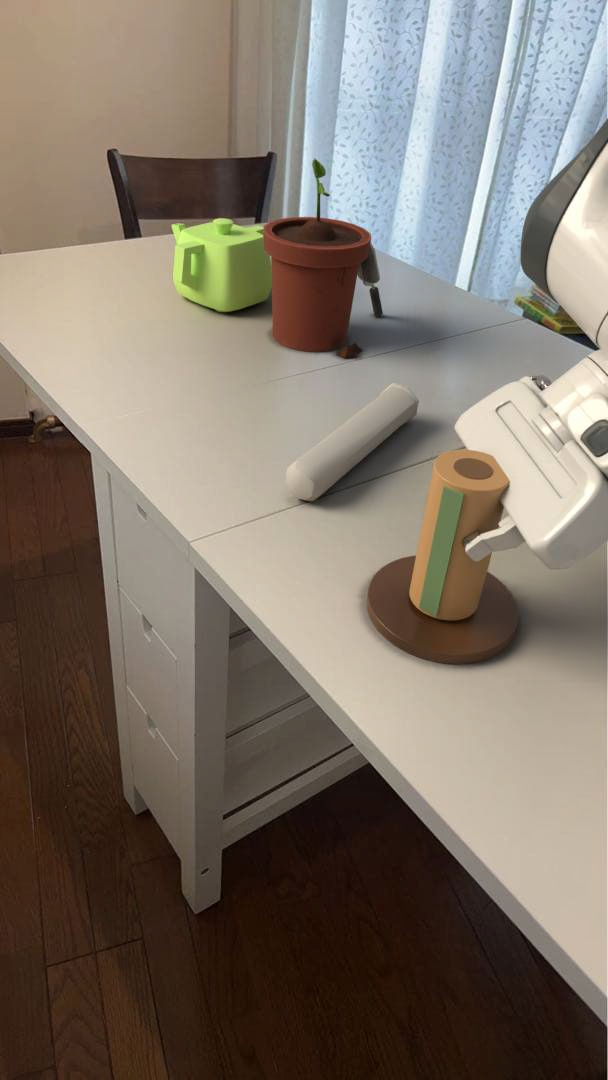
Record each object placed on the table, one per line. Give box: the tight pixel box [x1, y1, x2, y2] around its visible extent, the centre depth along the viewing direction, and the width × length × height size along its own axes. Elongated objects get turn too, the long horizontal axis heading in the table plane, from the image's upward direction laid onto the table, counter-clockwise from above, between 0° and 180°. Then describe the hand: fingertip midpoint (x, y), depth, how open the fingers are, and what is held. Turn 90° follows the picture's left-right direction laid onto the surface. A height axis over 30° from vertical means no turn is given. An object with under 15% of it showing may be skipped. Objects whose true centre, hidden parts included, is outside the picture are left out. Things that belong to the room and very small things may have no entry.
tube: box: [285, 381, 420, 503], centre depth 95 cm, size 5×5×25 cm
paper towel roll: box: [409, 449, 510, 621], centre depth 70 cm, size 6×7×14 cm
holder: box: [366, 555, 520, 665], centre depth 75 cm, size 14×14×2 cm
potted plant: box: [263, 157, 384, 359], centre depth 119 cm, size 18×22×25 cm
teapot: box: [171, 217, 272, 313], centre depth 132 cm, size 18×20×13 cm
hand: (453, 525), depth 69 cm, fingers closed on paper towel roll, 6 cm apart
